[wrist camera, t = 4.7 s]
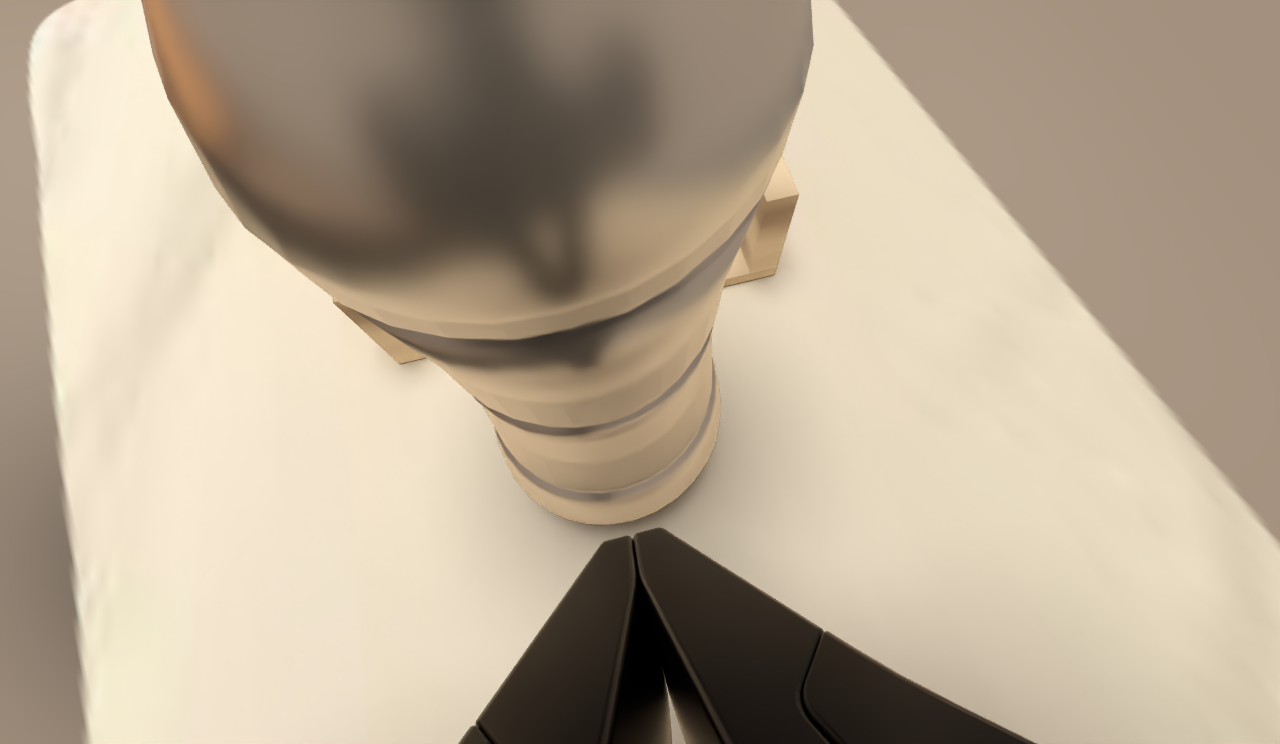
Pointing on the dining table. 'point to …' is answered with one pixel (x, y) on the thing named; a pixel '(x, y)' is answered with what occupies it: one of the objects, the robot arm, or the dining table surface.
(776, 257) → the tray
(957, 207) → the dining table surface
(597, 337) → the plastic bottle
